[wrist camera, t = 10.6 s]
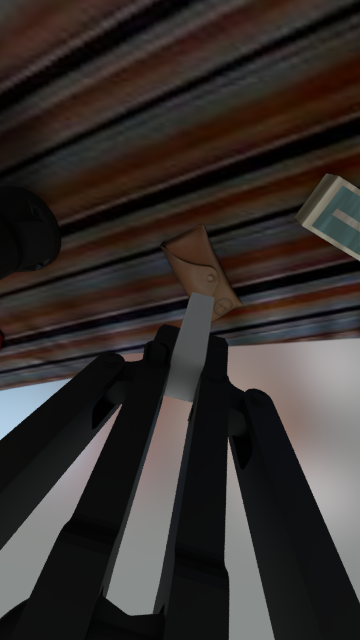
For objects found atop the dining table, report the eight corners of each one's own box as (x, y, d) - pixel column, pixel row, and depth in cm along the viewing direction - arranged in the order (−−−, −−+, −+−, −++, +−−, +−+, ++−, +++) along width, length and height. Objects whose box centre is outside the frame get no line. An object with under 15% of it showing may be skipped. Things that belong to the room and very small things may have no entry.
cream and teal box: (302, 225, 39) (381, 274, 40) (339, 176, 35) (425, 231, 37) (294, 217, 44) (364, 260, 46) (325, 173, 40) (401, 221, 42)
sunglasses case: (245, 305, 53) (228, 327, 49) (218, 308, 58) (201, 328, 55) (202, 219, 46) (178, 237, 43) (175, 231, 52) (153, 248, 48)
